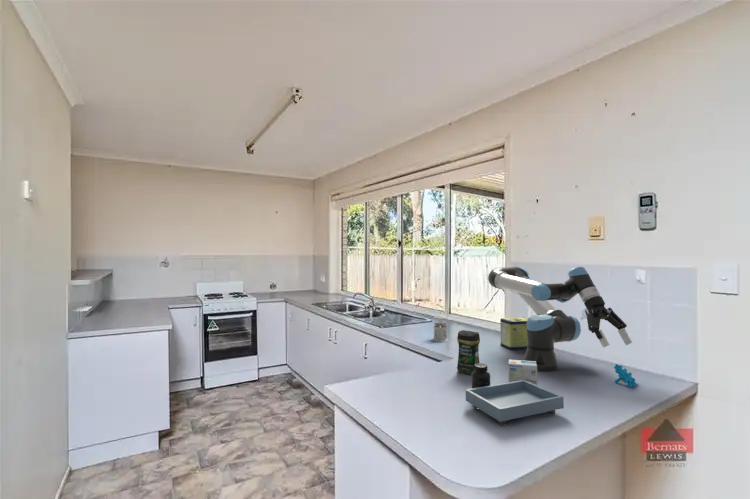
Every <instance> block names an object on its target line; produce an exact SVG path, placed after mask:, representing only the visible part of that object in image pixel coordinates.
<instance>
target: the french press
mask: <svg viewBox="0 0 750 499" xmlns="http://www.w3.org/2000/svg"><path fill="white" fill-rule="evenodd" d="M442 301H443V300H442V298H441V299H440V298H439V299H438V302H442ZM433 319H436V320H438V322H435V323H434V326H433V338H432V341H434V342H440V343H441V342H442V343H443V342H449V339H448V328H447V327H448V326H447V323H445V322H443V320H447V319H448V317H447V316H446V315H444V314H441V313H439V314H436V315H434V316H433Z"/></svg>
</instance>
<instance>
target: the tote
mask: <svg viewBox="0 0 750 499" xmlns="http://www.w3.org/2000/svg"><path fill="white" fill-rule="evenodd" d="M465 402H467V403H468V404H471V405H472V407H473V408H474V407H475V408H474V409H476V408H479V411H482V412H484V413H485V414H487V415H489V416H491V418H494V419H495V420H497V423H498V424H500V425H501V426H506V425H507V424H508V421H511V420H514V419H519V418H523V417H528V416H529V417H530V416H533V415H537V414H543V413H547V414H549V415H551V416H553V415H555V413H556V411H557V410H562V409H564V396H563V395H560V394H558V393H556V392H553V391H551V390H549V389H546V388H545V387H542V386H539V385H538V386H537V385H535V384H532V383H530V382H528V381H525V380H520V381H514V382H509V381H508V382H504V383H503V382H502V383H497V384H490V386H485V387H479V388H473V389H472V388H468V389H465ZM505 424H506V425H505Z"/></svg>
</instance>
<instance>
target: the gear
mask: <svg viewBox="0 0 750 499" xmlns="http://www.w3.org/2000/svg"><path fill="white" fill-rule="evenodd" d="M613 368H614V372H615V373H616V374H618V375H617V377H618V378H616V379H615V380H614V383H615V384H617V383H619V382H621V381H622V382H623V383H624V384H627V386H628V387H632V388H636V387H637V386H636V385H637V382H636V379H635V378H634V377H632V376H633V373H632V372H631V371H629V372H628V369H627V368H624V367H623V366H622V364H621V365H620V364H615V365H614V366H613Z"/></svg>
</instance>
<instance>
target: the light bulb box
mask: <svg viewBox="0 0 750 499" xmlns="http://www.w3.org/2000/svg"><path fill="white" fill-rule="evenodd" d="M507 365H508V369H507V370H508V371H507V372H508V382H514V381H520V380H525V381H528V382H530V383H532V384H535V385H537V386H539V385H538V370H537V364H536V361H523V360H519V359H508V364H507Z"/></svg>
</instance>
